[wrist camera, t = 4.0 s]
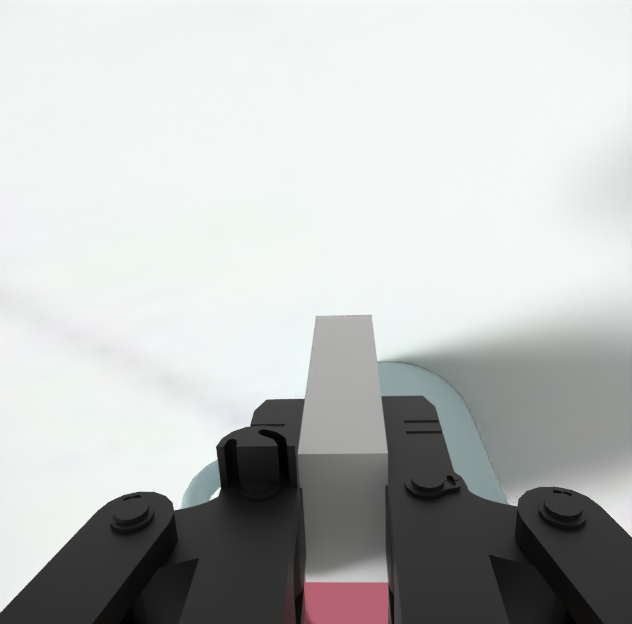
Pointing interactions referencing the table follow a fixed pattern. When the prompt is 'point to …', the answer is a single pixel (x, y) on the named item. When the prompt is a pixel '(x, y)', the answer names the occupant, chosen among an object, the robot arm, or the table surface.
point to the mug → (467, 460)
